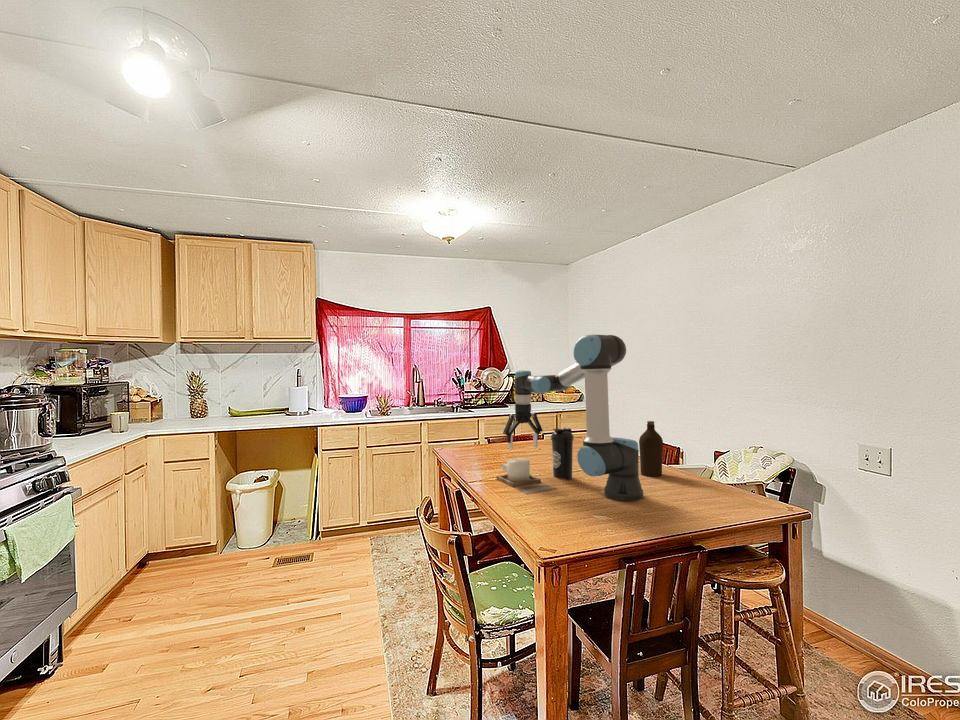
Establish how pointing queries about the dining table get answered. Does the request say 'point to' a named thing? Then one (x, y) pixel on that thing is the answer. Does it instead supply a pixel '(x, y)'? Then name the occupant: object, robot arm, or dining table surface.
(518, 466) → the white pot with handle
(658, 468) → the olive oil
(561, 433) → the water bottle
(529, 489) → the brown flat rectangular tray
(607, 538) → the dining table surface
